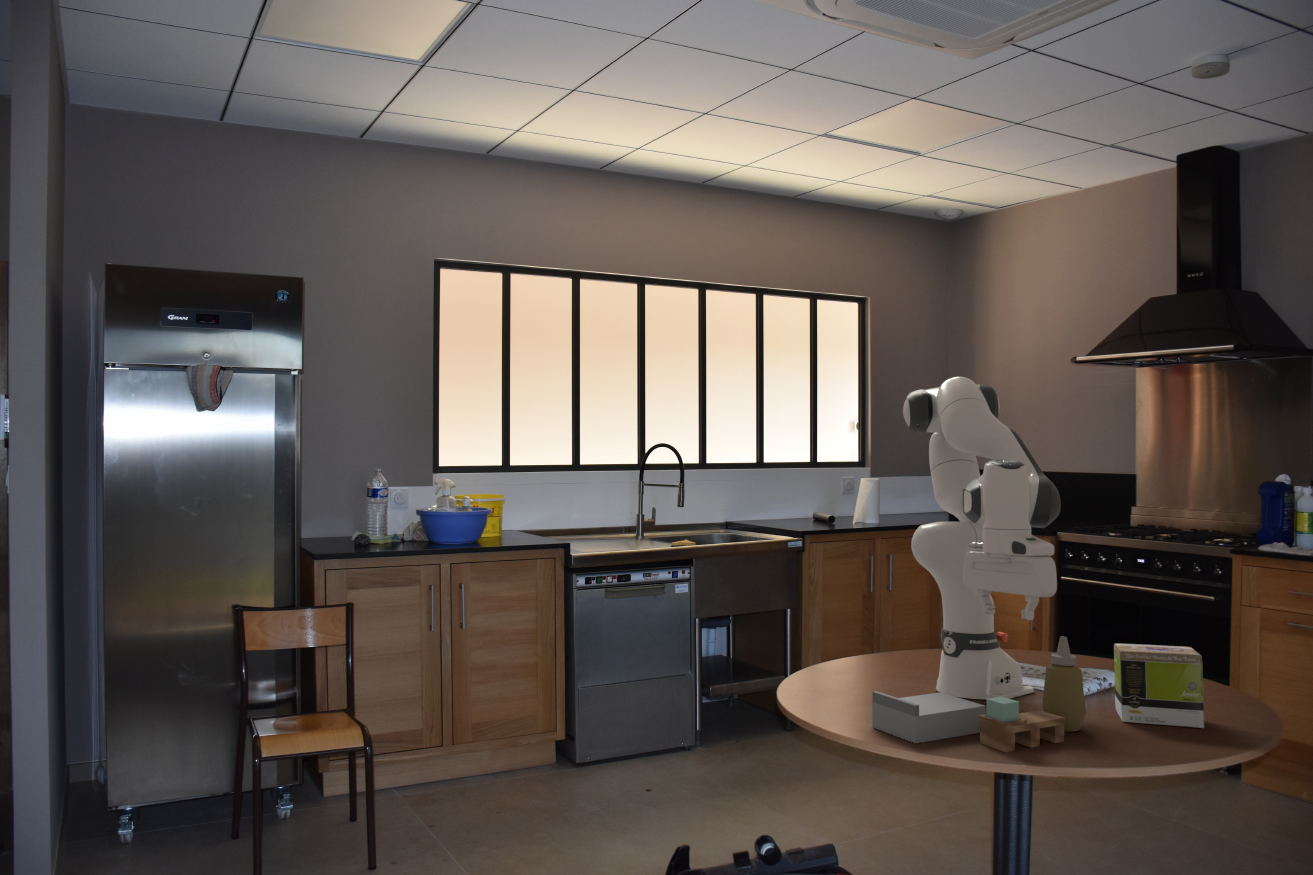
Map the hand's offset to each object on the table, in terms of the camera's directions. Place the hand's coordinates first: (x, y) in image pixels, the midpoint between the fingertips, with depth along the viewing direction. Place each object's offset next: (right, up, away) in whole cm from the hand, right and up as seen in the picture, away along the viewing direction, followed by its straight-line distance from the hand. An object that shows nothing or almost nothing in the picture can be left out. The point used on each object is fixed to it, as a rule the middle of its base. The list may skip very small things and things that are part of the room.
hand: (1007, 616), depth 179 cm
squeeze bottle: (+13, -24, +6) cm, 28 cm away
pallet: (+1, -23, -3) cm, 23 cm away
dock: (-14, -23, +5) cm, 27 cm away
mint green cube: (-3, -19, -6) cm, 20 cm away
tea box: (+36, -24, +13) cm, 45 cm away
